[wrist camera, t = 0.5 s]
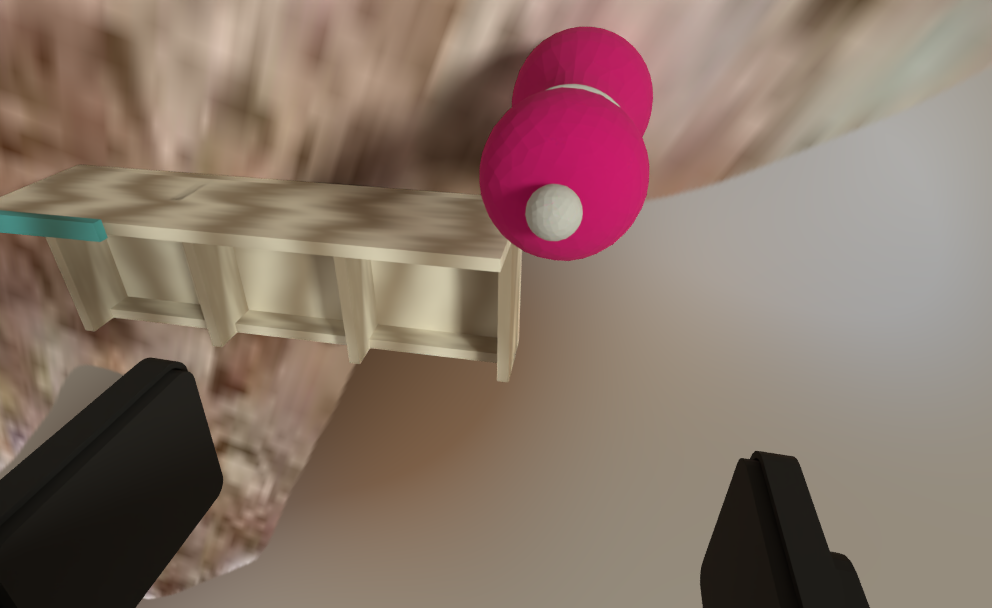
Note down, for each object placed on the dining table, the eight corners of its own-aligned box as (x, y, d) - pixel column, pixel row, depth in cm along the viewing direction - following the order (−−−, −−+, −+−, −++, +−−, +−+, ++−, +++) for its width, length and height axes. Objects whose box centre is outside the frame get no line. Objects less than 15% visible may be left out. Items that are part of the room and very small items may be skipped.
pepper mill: (596, 170, 37) (574, 361, 20) (501, 101, 36) (394, 243, 19) (677, 69, 33) (733, 202, 16) (573, -12, 32) (519, 41, 15)
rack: (129, 298, 50) (36, 366, 42) (78, 161, 43) (-43, 210, 36) (518, 342, 45) (496, 428, 37) (523, 195, 38) (498, 260, 31)
